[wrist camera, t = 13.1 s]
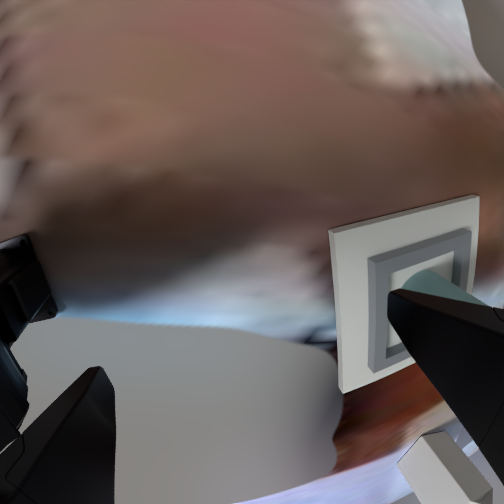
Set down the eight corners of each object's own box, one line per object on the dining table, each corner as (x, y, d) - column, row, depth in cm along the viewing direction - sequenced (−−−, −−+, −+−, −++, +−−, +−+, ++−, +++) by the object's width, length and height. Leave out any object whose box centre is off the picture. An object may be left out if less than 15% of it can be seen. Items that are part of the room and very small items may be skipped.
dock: (338, 387, 28) (348, 401, 26) (328, 229, 23) (341, 238, 21) (458, 332, 30) (470, 341, 28) (472, 194, 25) (488, 199, 22)
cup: (392, 334, 26) (475, 419, 15) (394, 279, 24) (499, 359, 13) (437, 314, 27) (521, 382, 16) (442, 262, 25) (543, 323, 14)
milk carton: (395, 464, 38) (448, 546, 21) (420, 434, 37) (484, 519, 19) (421, 457, 40) (473, 530, 23) (445, 429, 39) (505, 503, 21)
